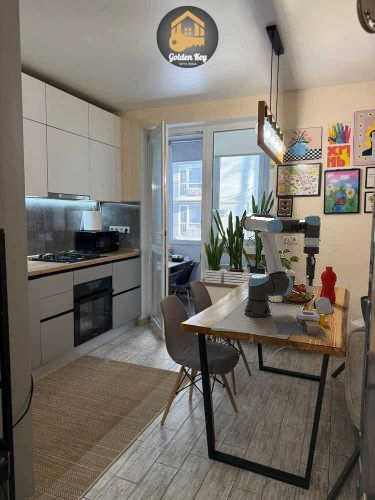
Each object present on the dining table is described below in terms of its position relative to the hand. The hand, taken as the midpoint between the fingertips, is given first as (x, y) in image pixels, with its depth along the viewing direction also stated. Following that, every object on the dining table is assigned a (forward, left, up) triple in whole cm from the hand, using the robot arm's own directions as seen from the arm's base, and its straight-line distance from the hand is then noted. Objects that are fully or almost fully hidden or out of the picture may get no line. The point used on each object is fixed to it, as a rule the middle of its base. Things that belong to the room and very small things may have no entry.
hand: (309, 291), depth 178 cm
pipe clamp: (+8, +10, -20) cm, 23 cm away
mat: (-5, -4, -19) cm, 20 cm away
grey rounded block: (+14, +35, -20) cm, 43 cm away
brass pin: (0, 0, -4) cm, 4 cm away
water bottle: (+23, +62, -20) cm, 69 cm away
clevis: (0, -4, -19) cm, 19 cm away
